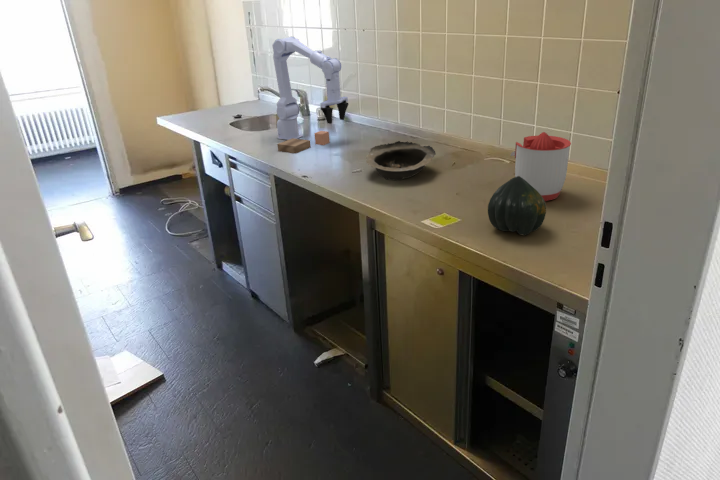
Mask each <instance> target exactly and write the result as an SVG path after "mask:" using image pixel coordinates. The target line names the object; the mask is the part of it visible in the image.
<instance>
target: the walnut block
mask: <svg viewBox="0 0 720 480" xmlns="http://www.w3.org/2000/svg"><path fill="white" fill-rule="evenodd" d="M276 145H277V151H278V152H281V151H282V153H288V154H289V153H290V154H295V155H296V154H298V153H300V152H303V151H305V150H308V149H311V148H312V147H311V146H312V145H311V140H310V139H302V138H297V139H295V138H292V139H289V140H285V141H284V140H283V141H282V142H278V143H277V144H276Z"/></svg>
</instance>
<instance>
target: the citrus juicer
mask: <svg viewBox="0 0 720 480" xmlns="http://www.w3.org/2000/svg"><path fill="white" fill-rule="evenodd" d="M522 144H523V145H522ZM571 145H572V142H571V141H570V140H569V139H567V138H564V137H561V136H554V135H549V134H548V133H547V132H545V131H543V132H541V133H539V134H538V135H529V136H525V137H524V136H523V143H520V142H518V141H516V142H515V150H514V151H512V152H511V153H510V157H513V156H514V159H515V162H514V163H515V167H514V175H515V176H514V177H517V176H520V177H521V178H523V179H524V180H525V181H527V182H528V183H529V184H530V185H531V186H532V187H533V188H535V189H536V190H537V191H538V192H539V193H540V195H541V196H542V197H543V199H544V201H545V202H548V201H551V200H552V201H553V200H555V199H557V198H558V197H559V195H560V194H561V192H562V190H563V187H564V184H565V181H566V177H567V171H568V164H569V163H568V162H569V155H570V146H571Z"/></svg>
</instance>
